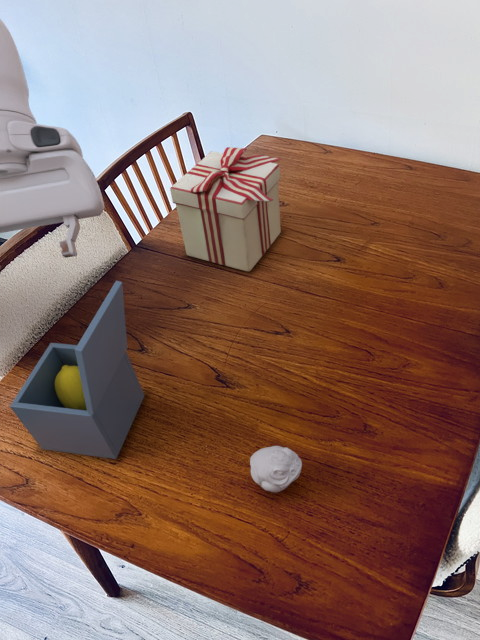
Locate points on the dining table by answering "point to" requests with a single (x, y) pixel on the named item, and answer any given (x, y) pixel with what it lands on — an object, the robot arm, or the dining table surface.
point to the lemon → (70, 388)
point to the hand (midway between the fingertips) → (31, 263)
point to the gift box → (229, 208)
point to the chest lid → (102, 347)
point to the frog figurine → (275, 468)
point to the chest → (71, 424)
